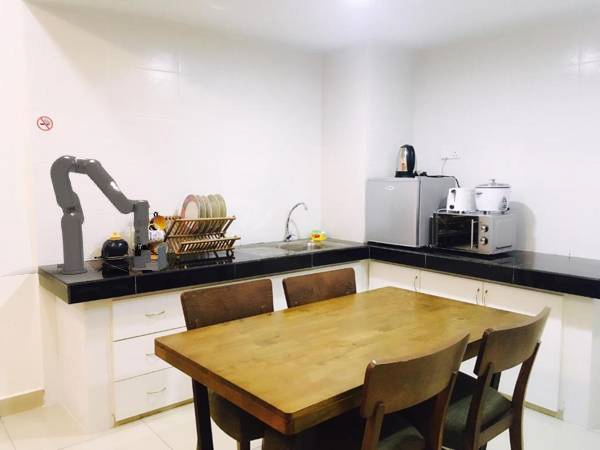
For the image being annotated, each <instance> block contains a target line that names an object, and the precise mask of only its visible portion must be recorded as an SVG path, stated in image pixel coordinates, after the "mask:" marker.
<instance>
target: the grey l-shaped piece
mask: <svg viewBox="0 0 600 450" xmlns="http://www.w3.org/2000/svg"><path fill="white" fill-rule="evenodd" d="M156 250H157V260H151V263H146V267H134V266H133V267H132V268H131V270H132V271H137V272H139V270H141V272H142V270H152V272H155V271H158V272H160V270H161V271H162V270H164V269H165V268H167V265H168V264H167V245H166V244H162V245H160V246H158V247H157V249H156Z"/></svg>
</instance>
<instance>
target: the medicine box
mask: <svg viewBox="0 0 600 450" xmlns="http://www.w3.org/2000/svg"><path fill="white" fill-rule="evenodd" d="M151 253H152V252H151V250H150V249H149V250H148V249H147V250H141V256H140V257H139V256H135V250H134V251H133V268H134V267H146V263H151V261H152V254H151Z"/></svg>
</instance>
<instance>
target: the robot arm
mask: <svg viewBox="0 0 600 450" xmlns="http://www.w3.org/2000/svg"><path fill="white" fill-rule="evenodd" d="M70 173H73V174H81V175H87V176H88V177H89V179H90V180H91V181H92V182H93V183H94V185H96V187H97V188H98V189H99V190H100V191H101V193H102V194H103V195H104V196H105V197H106V198H107V199H108V201H109V202H110V203H111V204H112V206H114V208H115V209H116V210H117V211H118V212H119V213H120V214H123V215H128V214H133V226H134V232H133V234H134V237H133V243H134V245H133V247H134V251H135V256H139V257H140V256H141V250H148V244H149V242H150V235H149V234H150V233H149V226H150V225H149V224H150V223H149V221H150V219H149V215H150V214H149V211H150V210H149V207H150V205H149V204H150V203H149V201H148V200H147V199H129V198H128V197H126V195H125V194H124V193H123V192H122V191H121V189H120V188H119V186H118V184H117V182H116V181H115V179H114V178H113V177H112V176H111V175H110V173H109V172H108V171H107V170H106V169H105V168H104V167H103V165H102V163H101V161H99V160H97V159H94V158H84V157H80V156H73V155H69V154H68V155H67V154H66V155H61V156H59V157H58V158H57V159H55V160H54V162H53V163H52V164H51V167H50V172H49V175H50V181H51V184H52V187H53V192H54V196H55V200H56V204H57V206H58V207H60V209H61V211H62V214H63V215H62V217H61V219H60V227H61V235H62V236H61V237H62V250H63V251H62V252H63V254H62V255H63V263H61V264H59V263H58V264H57V265H56V267H57V269H61V270H60V273H61V274H63V275H76V274H84V273H86V272H88V268H87V267H85V254H84V236H83V234H84V233H83V224H84V222H85V216H84V212H83V207H82V205H81V199H80V197H79V196H78V194H77V192H75V191H74V190H73V186H72V181H71V179H70Z"/></svg>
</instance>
